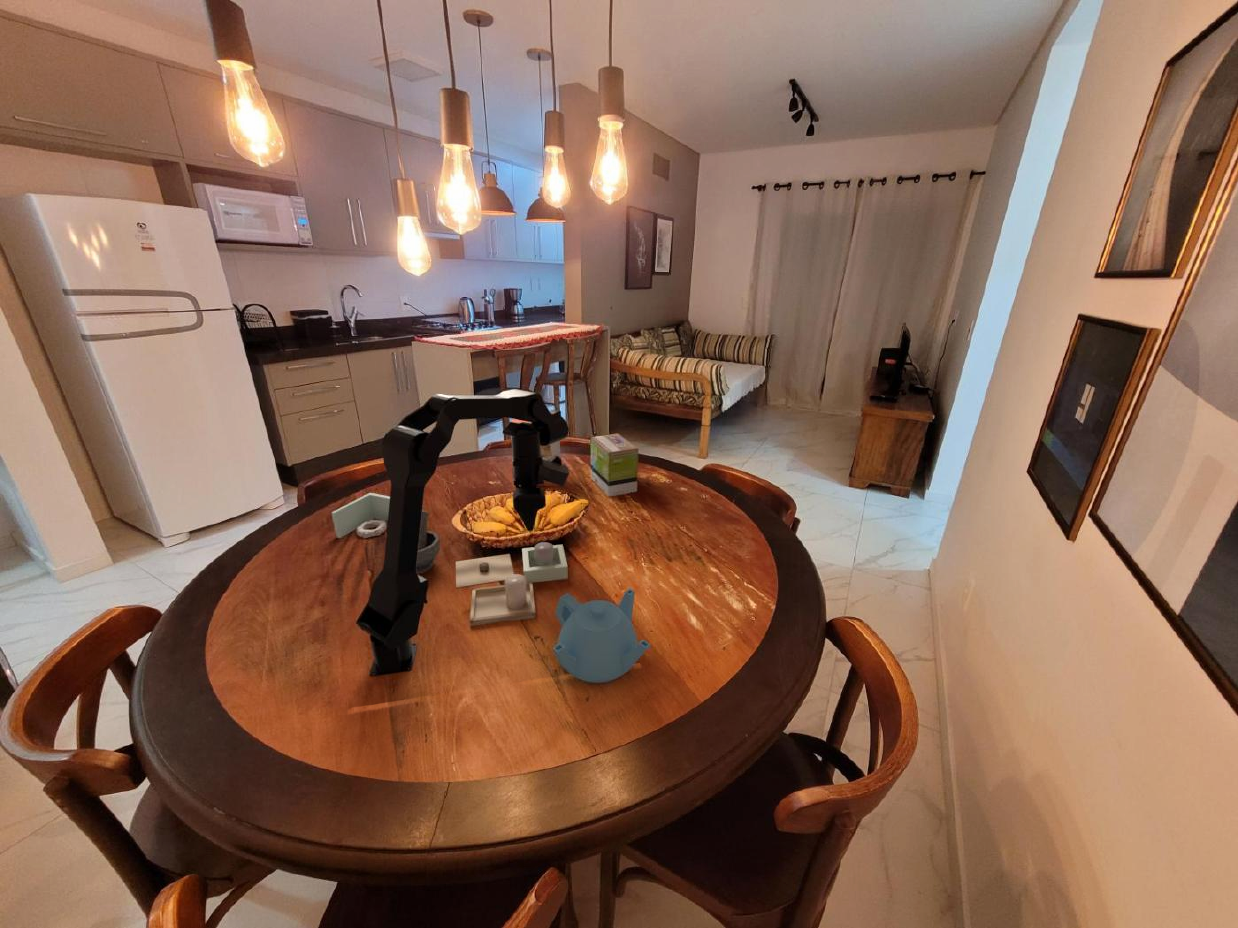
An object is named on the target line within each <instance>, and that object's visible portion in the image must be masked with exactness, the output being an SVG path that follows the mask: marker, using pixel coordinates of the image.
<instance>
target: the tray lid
mask: <svg viewBox="0 0 1238 928" xmlns="http://www.w3.org/2000/svg"><path fill="white" fill-rule="evenodd" d="M512 563H513V562H512V558H511V554H510V553H507V554H506V553H505V554H499V555H492V556H486V557H479V558H472V559H465V560H459V561H455V589H459V588H465V587H471V586H477V585H483V584H490V583H496V582H503V581H504V582H505V579H506V578H507V577H508V576H510V575H513V574H515V573H514V569H513V564H512Z"/></svg>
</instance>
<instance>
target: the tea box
mask: <svg viewBox="0 0 1238 928" xmlns="http://www.w3.org/2000/svg"><path fill="white" fill-rule="evenodd" d="M638 466H639V448H638V446H636V445H635V444H633V443H632V442H630V441H629V440H628V439H626V438H625V437H623V436H622V435H621V434H619V433H612V434H606V435H598V436H597V435H596V436H590V478H591V480H592V481H594V483H595V484H596V485H597V486H598V487H599V488H600V489H601V490H602V491H603V492H604V494H605V495H607V497H616V496H621V495H625V494H632V493H637V491H638V471H639V470H638V469H639V467H638ZM631 492H632V493H631Z"/></svg>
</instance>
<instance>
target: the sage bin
mask: <svg viewBox="0 0 1238 928" xmlns="http://www.w3.org/2000/svg"><path fill="white" fill-rule="evenodd" d="M552 545H553V565H549V566H539V567H535V546H534V547H532V546H531V547H524V548H521V552H522V553H521V555H522V556H521V557H522V568H523V576H524V577H525V578H526V583H528V582H532V584H533V583H543V582H550V581H558V580H559V581H561V580H568V579H569V575H568V574H569V573H568V572H569V571H568V563H567V558H566V554H565V549H564V546H563V545H564V544H556V545H554V544H552Z"/></svg>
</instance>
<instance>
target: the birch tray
mask: <svg viewBox="0 0 1238 928" xmlns="http://www.w3.org/2000/svg"><path fill="white" fill-rule="evenodd" d="M471 591H472V592H471V593H472V594H471V602H470V605H471V606H470V615H469V625H470V627H472V626H479V625H480V626H481V625H482V626H483V625H489V624H495V623H496V624H497V623H503V622H504V623H505V622H511V621H520V620H528V619H536V617H537V616H536V605H535V604H536V603H535V595H534V586H533V583H532V582H528V583H526V594H527V604H526V606H525V607H523V608H521V609H518V610H512V609H509V608H508V607H507V605H506V592H505V584H503V585H502V584H501V585H495V586H485V587H475V588H472V590H471Z"/></svg>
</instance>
